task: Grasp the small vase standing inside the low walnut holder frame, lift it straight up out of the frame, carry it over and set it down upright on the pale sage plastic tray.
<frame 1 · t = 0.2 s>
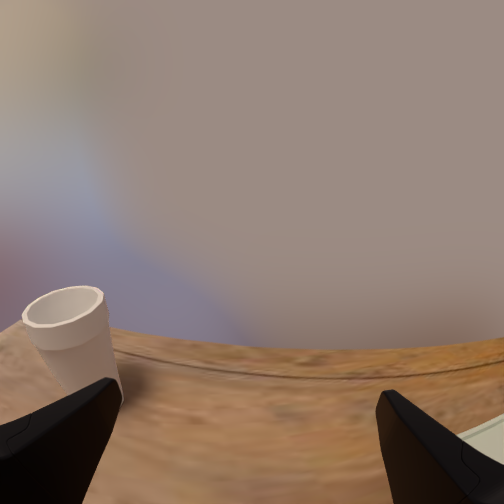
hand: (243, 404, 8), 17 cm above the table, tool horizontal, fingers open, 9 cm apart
foam cup: (100, 401, 26), on the table
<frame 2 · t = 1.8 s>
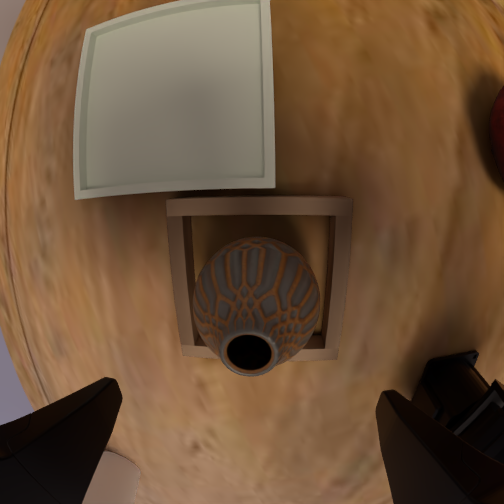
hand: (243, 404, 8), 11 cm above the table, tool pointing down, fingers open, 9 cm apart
foam cup: (121, 462, 29), on the table
holder: (260, 278, 19), on the table
tray: (167, 90, 16), on the table
vase: (260, 277, 19), resting in holder
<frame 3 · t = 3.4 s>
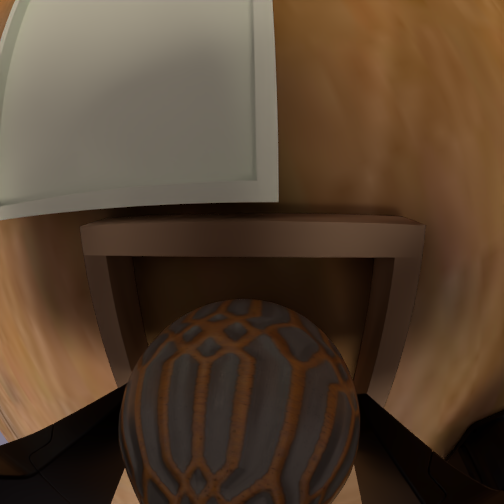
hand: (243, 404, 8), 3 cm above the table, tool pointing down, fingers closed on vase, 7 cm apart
holder: (250, 352, 11), on the table
tray: (102, 45, 8), on the table
vase: (251, 349, 11), resting in holder, touching gripper
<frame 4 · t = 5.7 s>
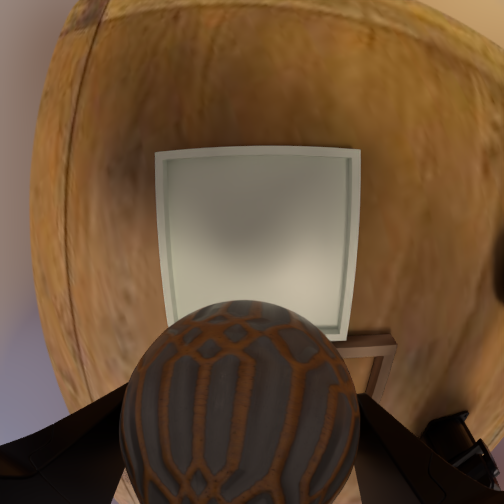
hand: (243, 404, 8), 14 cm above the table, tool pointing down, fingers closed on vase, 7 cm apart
holder: (322, 385, 23), on the table
tray: (257, 245, 21), on the table
vase: (251, 350, 11), point 10 cm above the table, touching gripper
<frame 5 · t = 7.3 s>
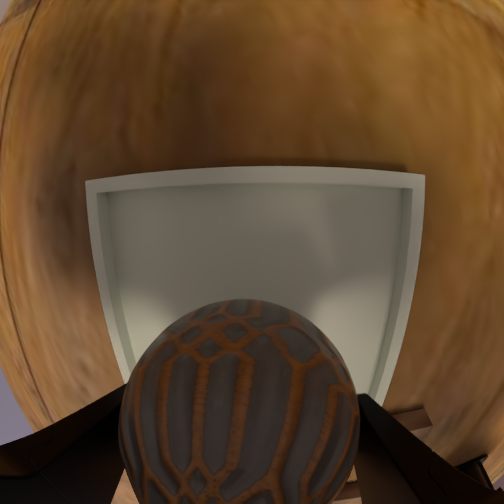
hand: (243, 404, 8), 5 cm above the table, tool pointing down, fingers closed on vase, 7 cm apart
holder: (335, 462, 16), on the table
tray: (253, 322, 13), on the table
vase: (251, 349, 11), point 2 cm above the table, touching gripper
when the fingers open (5 cm above the table, at t = 8.4 s): vase stays where it is, resting on tray.
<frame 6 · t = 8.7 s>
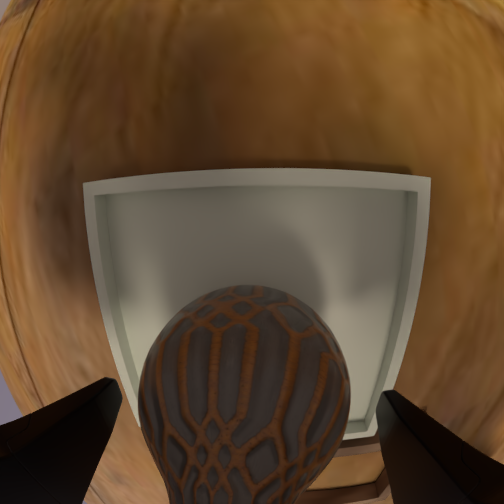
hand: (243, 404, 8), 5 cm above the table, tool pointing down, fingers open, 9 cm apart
holder: (336, 467, 16), on the table
tray: (254, 327, 13), on the table
vase: (253, 334, 12), resting on tray
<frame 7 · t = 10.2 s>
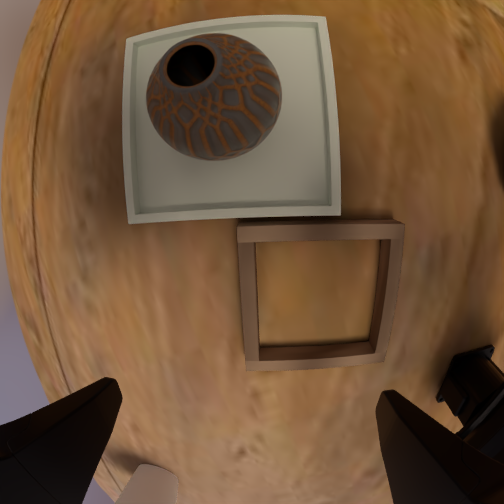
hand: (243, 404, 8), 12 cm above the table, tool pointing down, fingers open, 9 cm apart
foam cup: (158, 473, 30), on the table
holder: (319, 294, 20), on the table
tray: (226, 112, 17), on the table
vase: (225, 112, 17), resting on tray
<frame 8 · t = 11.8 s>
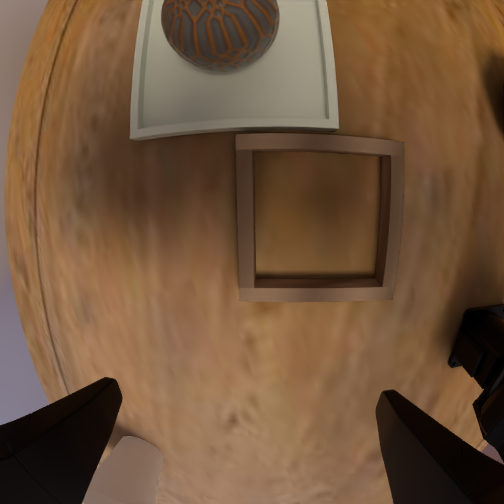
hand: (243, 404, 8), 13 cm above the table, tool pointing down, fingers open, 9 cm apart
foam cup: (142, 448, 29), on the table
holder: (320, 217, 19), on the table
tray: (231, 44, 16), on the table
vase: (230, 43, 16), resting on tray
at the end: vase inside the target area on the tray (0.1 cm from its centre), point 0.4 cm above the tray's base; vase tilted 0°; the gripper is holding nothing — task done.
